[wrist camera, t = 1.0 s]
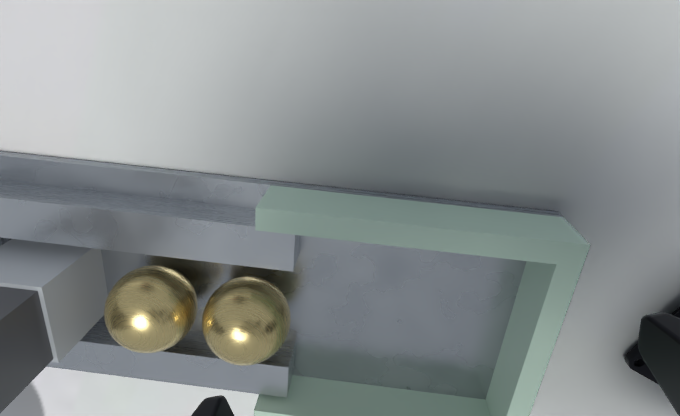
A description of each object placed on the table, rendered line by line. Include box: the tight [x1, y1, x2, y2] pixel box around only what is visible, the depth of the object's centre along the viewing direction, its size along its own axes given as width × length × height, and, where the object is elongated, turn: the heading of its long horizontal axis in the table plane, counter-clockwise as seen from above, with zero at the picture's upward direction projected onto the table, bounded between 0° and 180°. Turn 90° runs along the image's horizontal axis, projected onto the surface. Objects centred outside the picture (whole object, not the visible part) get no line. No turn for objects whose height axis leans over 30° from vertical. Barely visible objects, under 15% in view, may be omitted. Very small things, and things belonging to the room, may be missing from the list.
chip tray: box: [254, 185, 590, 416], centre depth 20 cm, size 13×12×3 cm
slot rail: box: [0, 151, 563, 400], centre depth 21 cm, size 27×12×2 cm, turn 85°
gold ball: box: [202, 276, 291, 366], centre depth 20 cm, size 4×4×4 cm
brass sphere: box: [104, 265, 198, 353], centre depth 20 cm, size 4×4×4 cm
